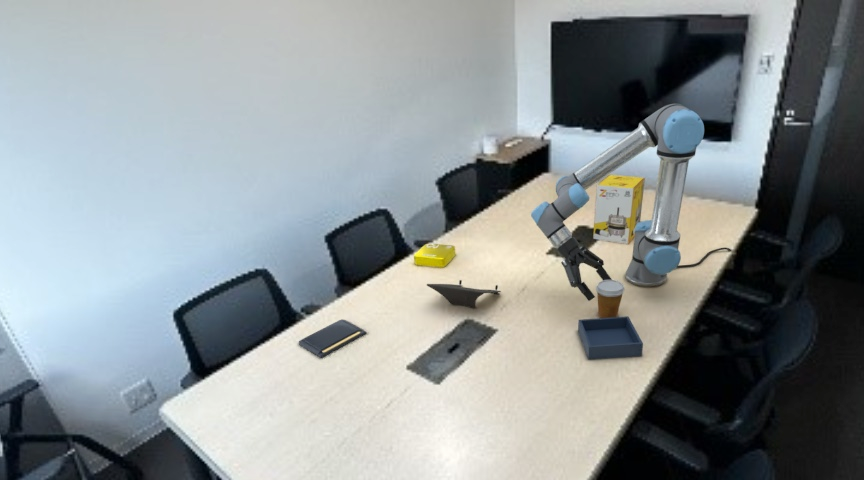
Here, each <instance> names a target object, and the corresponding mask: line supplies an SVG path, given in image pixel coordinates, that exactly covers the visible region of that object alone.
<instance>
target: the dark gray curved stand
mask: <svg viewBox="0 0 864 480" xmlns="http://www.w3.org/2000/svg"><path fill="white" fill-rule="evenodd" d="M426 286H427V287H428V288H431V289H433V290H434V291H435V292H437V293H438V294H440V295H441V296H442V297H443V298H445V300H447V302H448V303H449V304H450V305H451V306H458V307H466V308H470V309H477V306H476V301H477V300H478V299H479V297H481V296H483V295H484V294H493V295H496V296H500V293H501V292H502V290H498V289H499V285H498V284H496V285H495V286H494V287H495V288H494V289H479V288H472V287H466V286H464V285H462V279H460V280H459V281H458V284H455V283H454V284H453V283H426Z"/></svg>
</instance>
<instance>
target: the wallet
mask: <svg viewBox="0 0 864 480" xmlns="http://www.w3.org/2000/svg"><path fill="white" fill-rule="evenodd" d="M364 335H367V331H365V330H364V329H362V328H360V327H359V326H357V325H355V324H353V323H352V322H350V321H348V320H346V319H339V320H336V321H335V322H333V323H331V324H329V325H327V326H324V327H323V328H321V329H319V330H317V331H315V332H313V333H312V334H310V335H308V336H305V337H304V338H301V339H299V341H298V344H299V346H301V347H302V348H304V349H305V350H307V351H309V352H311V353H312V354H314V355H315V356H317V357H318V358H320V359H322V358H324V357H326V356H328V355H330V354H331V353H333V352H335V351H337V350H339V349H340V348H343V347H344V346H346V345H348V344H350V343H352V342H354V341H355V340H357V339H359V338H361V337H363V336H364Z"/></svg>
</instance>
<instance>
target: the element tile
mask: <svg viewBox="0 0 864 480" xmlns="http://www.w3.org/2000/svg"><path fill="white" fill-rule="evenodd" d="M455 256H456V247H455V245H450V244H440V243H426V244H424V245H423V246H422V247H420V249H419V250H417V251H416V252H415V253H414V254H413V261H414V264H415V265H416V266H420V267H421V266H422V267H429V268H430V267H432V268H445V267H446V266H448V264H449V263H450V262H451V261H452V260H453V259H454V258H455Z"/></svg>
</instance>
